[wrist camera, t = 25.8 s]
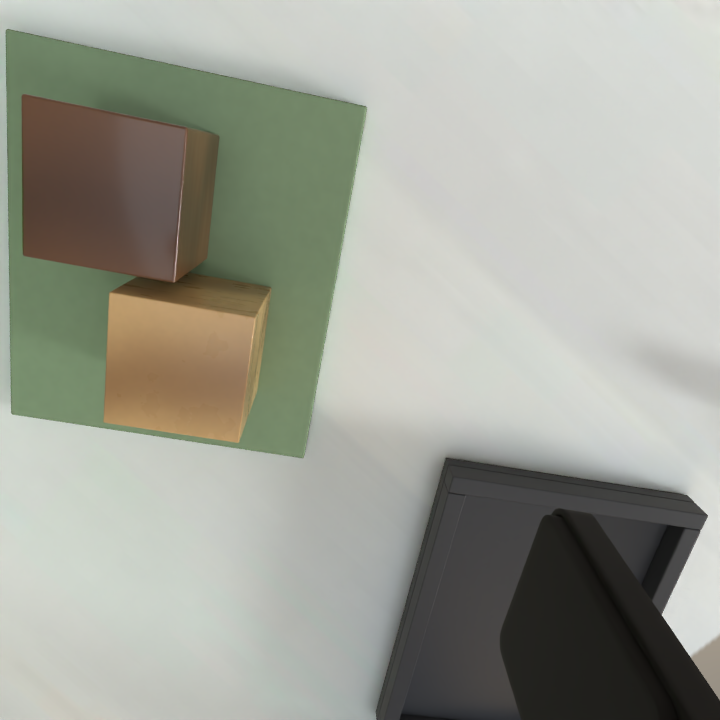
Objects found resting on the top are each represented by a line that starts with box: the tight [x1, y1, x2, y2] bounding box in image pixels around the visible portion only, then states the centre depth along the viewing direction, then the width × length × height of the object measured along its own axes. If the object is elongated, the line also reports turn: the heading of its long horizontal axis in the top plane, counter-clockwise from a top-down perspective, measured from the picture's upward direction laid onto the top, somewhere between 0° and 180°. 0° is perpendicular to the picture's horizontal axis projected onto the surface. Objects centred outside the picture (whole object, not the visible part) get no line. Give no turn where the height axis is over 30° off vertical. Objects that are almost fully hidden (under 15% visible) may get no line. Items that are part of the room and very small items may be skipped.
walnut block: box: [21, 94, 219, 283], centre depth 18 cm, size 4×4×4 cm
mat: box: [6, 29, 367, 458], centre depth 21 cm, size 14×12×1 cm
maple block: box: [103, 272, 272, 443], centre depth 20 cm, size 4×4×4 cm
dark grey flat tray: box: [376, 458, 708, 720], centre depth 27 cm, size 16×12×2 cm
